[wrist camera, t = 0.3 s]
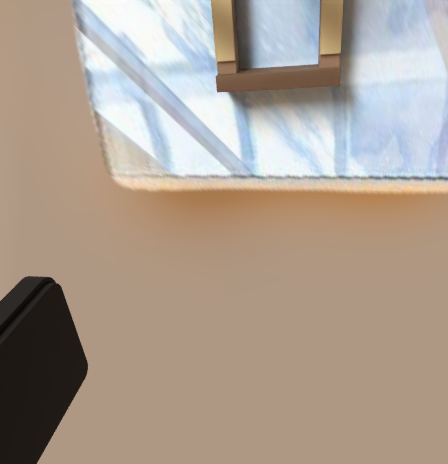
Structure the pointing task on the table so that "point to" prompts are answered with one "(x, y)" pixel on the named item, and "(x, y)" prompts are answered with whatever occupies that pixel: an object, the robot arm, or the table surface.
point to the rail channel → (276, 76)
